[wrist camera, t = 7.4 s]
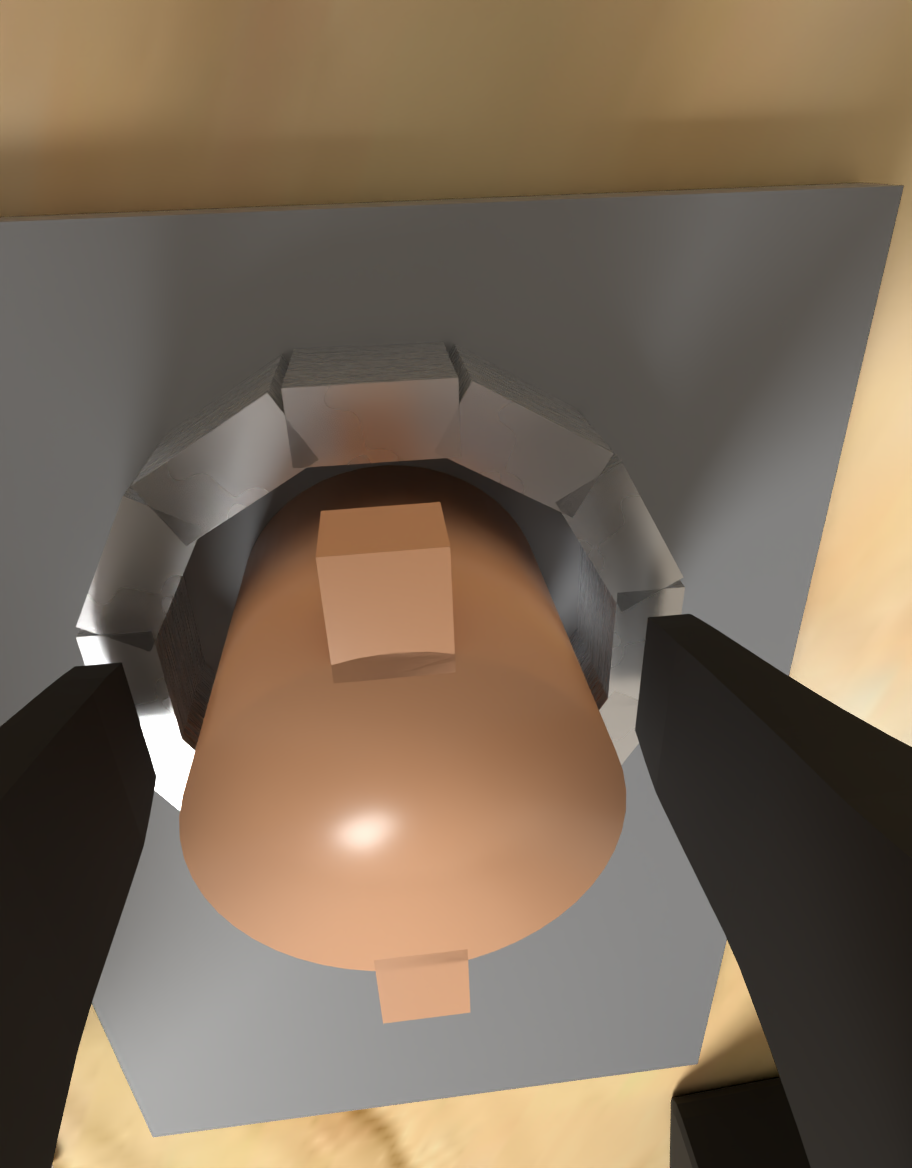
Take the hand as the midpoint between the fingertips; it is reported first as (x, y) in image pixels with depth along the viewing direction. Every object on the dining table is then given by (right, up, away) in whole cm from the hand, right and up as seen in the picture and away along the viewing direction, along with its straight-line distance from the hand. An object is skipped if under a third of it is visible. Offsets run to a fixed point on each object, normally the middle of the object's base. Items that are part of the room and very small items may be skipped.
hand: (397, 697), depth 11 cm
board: (0, -3, +6) cm, 6 cm away
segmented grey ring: (0, +1, +2) cm, 3 cm away
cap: (0, +1, +2) cm, 3 cm away
